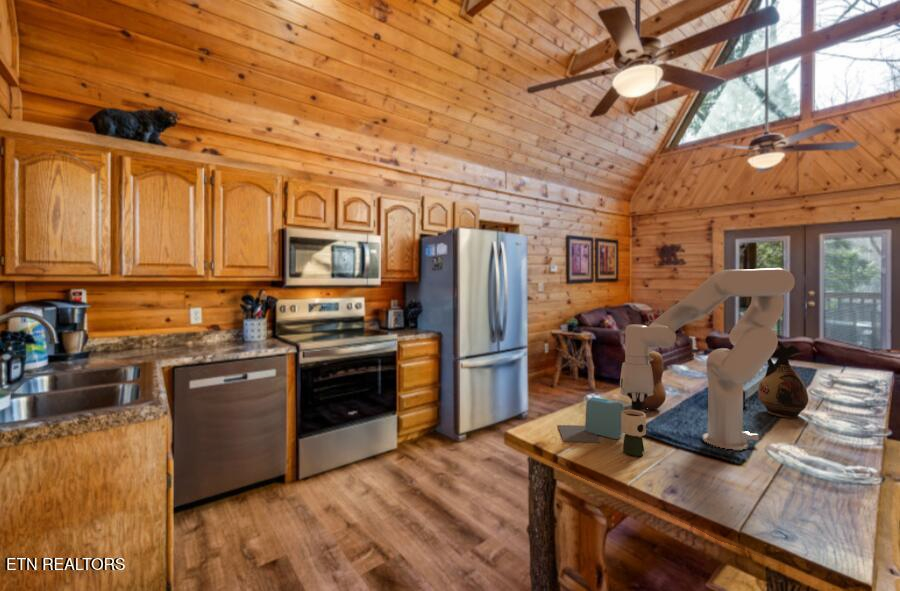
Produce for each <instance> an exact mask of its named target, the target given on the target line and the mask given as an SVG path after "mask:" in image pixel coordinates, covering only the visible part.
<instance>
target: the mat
mask: <svg viewBox="0 0 900 591" xmlns="http://www.w3.org/2000/svg"><path fill="white" fill-rule="evenodd" d="M558 427H559V428H558ZM557 428H558V430H560V431H559V433H560V435H562V436H561V438H562V441H563V440H564V441H565V442H564V441H563V442H564V443H583V442H593V443H594V444H601V441H600V439H599V438H598V435H597V434H593V433H589V432H587V431H586V429H585V425H574V424H573V425H571V424H557ZM566 441H567V442H566ZM593 443H592V444H593Z"/></svg>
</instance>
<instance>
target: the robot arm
mask: <svg viewBox="0 0 900 591" xmlns="http://www.w3.org/2000/svg"><path fill="white" fill-rule="evenodd" d="M795 281H796V280H795V277H794V275H793V274H792V273H791V272H790V271H789V270H786V269H785V268H780V267H775V268H774V267H773V268H754V269H736V268H735V269H723V270H722V269H721V270H718V271H716V272H715V273H713V274H712V275H710V276H708V278H707V279H706V280H704V282H702V283H701V284H700V285H699V286H697V288H695V289H694V290H693V291H692V292H690V293H689V294H688V295H687V296H685V297H684V298H683V299H682V300H680V301H679V302H677V303H675V304H674V305H673V306H672V307H670V308H668V309H667V310H665V311H664V312H663V313H662V314H660V315H659V316H658V317H657V318H655V319H654V320H653V321H652V322H651V323H650V324H649V325H644V324H639V323H638V324H636V323H635V324H628V325H627V326H626V327H625V340H624V341H625V343H624V344H625V348H624V349H625V353H624V354H625V355H624V357H625V358H624V362H622V363H621V364H622V365H621V371H620V380H619V387H620V392H619V393H620V394H621V395H622V396H625V397H628V398H629V399H630V400H631V410H637V411H641V412H642V410H643V407H642V402H643V400H644V399H645V398H646V397H647V396H652V395H653V388H654V384H653V373H652V368H651V364H649V363H650V361H653V357H650V356H649V350H650V347H654V348H655V347H656V348H661V349H666V348H669V347H672V346H673V345H674V344H675V343H676V342H677V334H676V331H677V330H679V329H680V328H682V327H683V326H685V325H687V324H689V323H691V322H695V321H698V320H700V319H703V318H705V317H706V316H708V315H709V314H710V313H712V312H713V311H714V310H715V309H716V308H718V307H719V306H720V305H721V304H722V303H724V302H725V301H726V300H728V298H729V297H743V298H744V297H746V298H747V297H751V301H750V304H749V306H748V308H747V309H746V310H745V312H744V313H743V315H742V316H741V317H740V319H739V320H738V321H737V322H736V324H735V325H734V326H733V328H732V329H731V331H730V332H729V334H728V335H729V336H728V339H729V342H730V344H731V345H733V347H732V348H731V349H729V348H724V347H721V348H716V349H714V350H711V352H710V353H709V354H708V356H707V358H706V373H707V383H708V386H707V388H708V391H707V392H708V394H707V396H708V398H707V399H708V401H707V407H708V408H707V414H708V415H707V432H706V433H704V434H702V441H704V443H706V442H707V443H706V444H708V443H709V444H708V445H710V444H711V445H710V446H712V445H713V446H712V447H715V446H716V448H718V447H720V448H719V449H722V448H725V449H724V450H727V449H733V450H732V451H744V450H743V449H745V450H747V449H748V448H749V443H748V441H750V440H752V441H759V439H760V435H759V434H758V433H750V432H749V431H744V430H743V426H744V422H743V421H744V417H743V416H744V413H743V412H744V409H743V408H744V387H743V386H744V384H747V383H749V382H751V381H752V380H753V379H754V378H755V377H756V376H757V374H759V372H760V371H761V370H762V369H763V368H764V366H765V365H766V363H767V361H768V360H769V358H771V357H772V356H773V353H774V352H775V350H777V347H778V345H777V344H778V341H779V340H778V336H777V334H776V332H775V331H774V330H773V328H774V327H775V326H776V324H777V322H778V320H780V318H781V316H782V314H783V312H784V307H785V306H784V303H785V302H784V295H786V294H788V293H790V292H791V291H792V290H793V288H794V287H795V284H796V282H795ZM635 393H638V396H637V399H636V394H635Z"/></svg>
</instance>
